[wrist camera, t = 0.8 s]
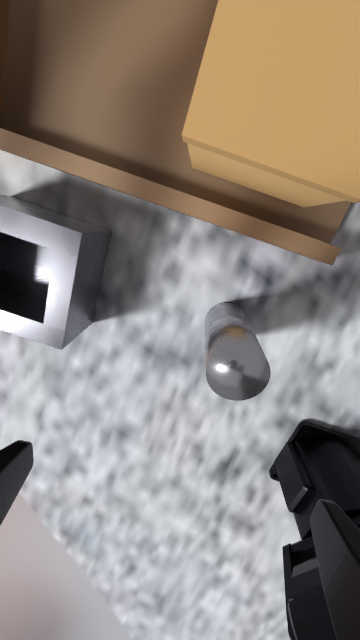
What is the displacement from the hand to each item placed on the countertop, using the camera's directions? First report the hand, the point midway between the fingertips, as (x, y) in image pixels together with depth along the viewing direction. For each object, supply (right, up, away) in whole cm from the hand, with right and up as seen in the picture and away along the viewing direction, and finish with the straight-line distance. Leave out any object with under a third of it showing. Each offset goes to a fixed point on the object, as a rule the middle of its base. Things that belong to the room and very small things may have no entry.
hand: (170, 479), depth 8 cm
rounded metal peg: (+4, +5, +11) cm, 12 cm away
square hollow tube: (-9, +9, +10) cm, 16 cm away
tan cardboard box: (+5, +16, +6) cm, 18 cm away
